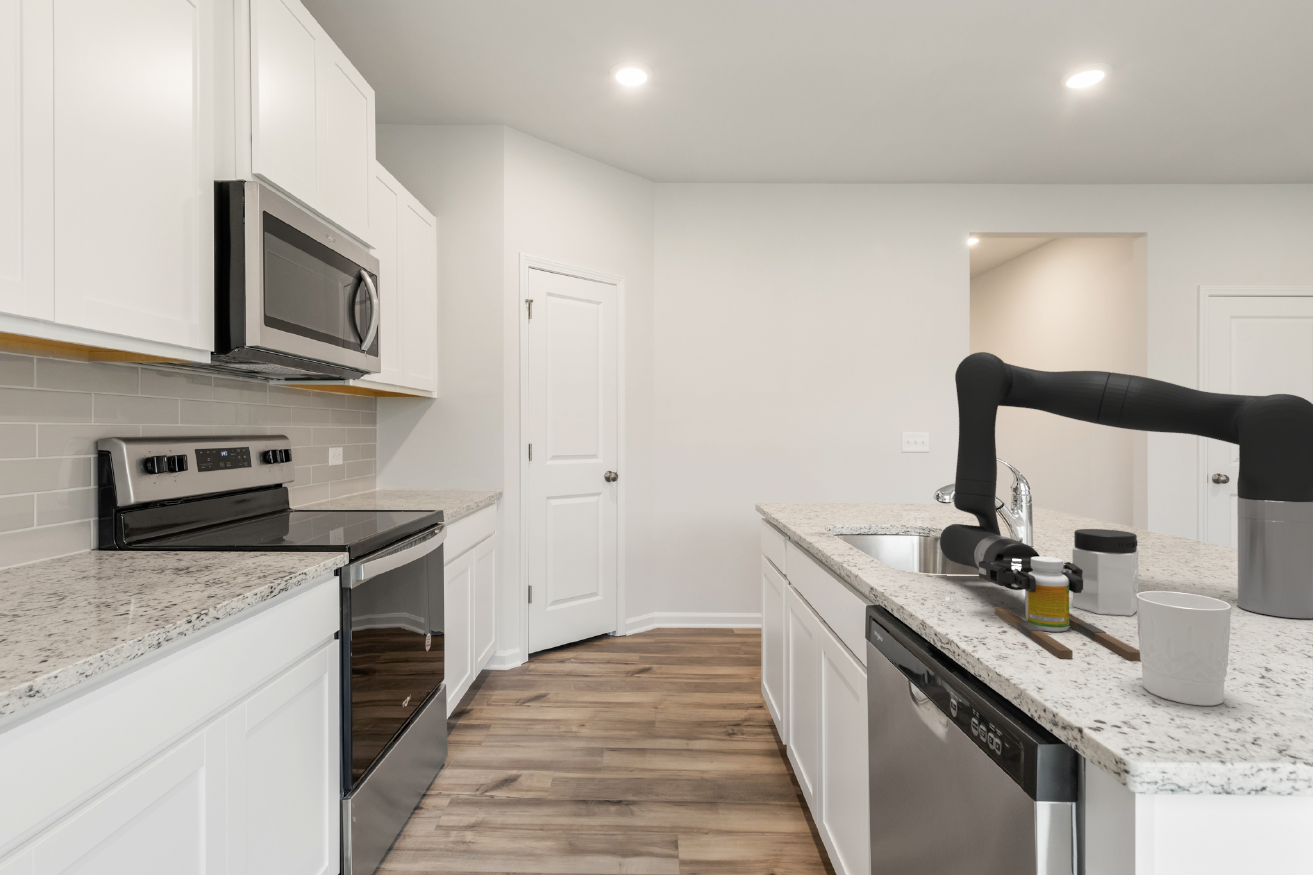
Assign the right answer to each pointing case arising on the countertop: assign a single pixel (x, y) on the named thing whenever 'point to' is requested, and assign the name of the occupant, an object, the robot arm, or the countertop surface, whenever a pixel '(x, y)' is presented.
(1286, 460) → the robot arm
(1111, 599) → the jar
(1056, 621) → the supplement bottle
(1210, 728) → the countertop surface
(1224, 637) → the white cup
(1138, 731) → the countertop surface
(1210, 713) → the countertop surface
